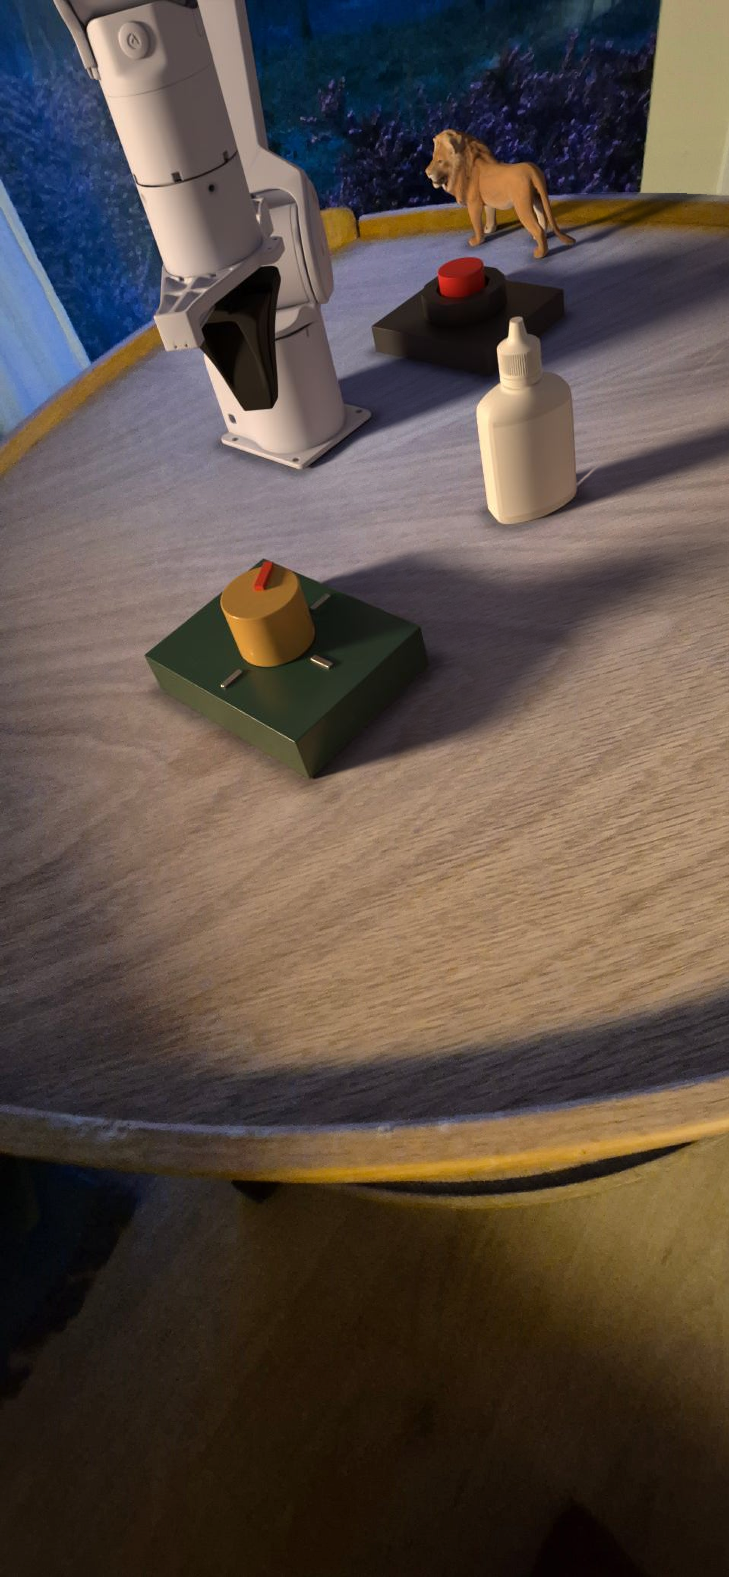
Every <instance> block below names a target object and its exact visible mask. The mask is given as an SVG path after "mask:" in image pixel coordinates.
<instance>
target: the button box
mask: <svg viewBox="0 0 729 1577" xmlns="http://www.w3.org/2000/svg"><path fill="white" fill-rule="evenodd" d="M484 273H485V283H486V286H485V288H483V289H482V290H481V291H479V292H477V293H474V294H471V295H468V296H466V297H458V298H448V297H442V296H441V293H440V286H439V279H438V275H437V276H435V277H434V278H432V279H431V280H430V281H428V282H427V283H425V284H424V286H423V288H422V289H420V290H419V291H418V292H416V293H415V294H414V295H412V296H411V297H409V298H408V299H407V300H405V301H404V302H403V303H401V304H400V305H398V306H397V307H396V308H394V309H393V310H391V311H390V312H389V313H388V314H386V315H384V316H383V317H382V318H380V319H379V320H378V321H377V322H375V323H374V324H372V325H371V333H372V337H373V343H374V347H375V351H376V353H379V354H380V353H381V354H384V355H389V356H394V357H398V358H402V359H406V360H410V361H411V360H412V361H416V362H421V363H425V364H428V365H429V364H430V365H434V366H437V367H441V368H442V367H443V368H446V369H451V370H456V371H460V372H464V373H469V374H473V375H478V376H482V377H486V378H487V377H488V378H490V377H492V376H493V375H494V374H496V373H497V372H498V371H499V364H498V354H497V347H498V345H499V344H500V343H501V342H502V341H503V340H504V339H506V338H508V335H509V325H510V320H511V319H512V318H514V317H522V318H523V322H524V326H525V329H526V332H527V334H531V335H534V336H536V337H537V338H538V339H539V338H540V337H541V336H543V335H544V334H545V333H546V332H547V331H548V330H550V329H551V328H552V327H553V326H554V325H556V324H557V323H558V322H559V321H561V320H562V319H563V318H564V317H565V316H566V312H565V311H566V310H565V291H564V288H562V287H561V288H560V287H554V286H547V285H541V284H534V283H529V282H528V283H527V282H522V281H514V280H509V279H506V275H505V274H504V273H503V272H502V271H500V270H499V269H498V268H497V267H494V266H486V265H484Z"/></svg>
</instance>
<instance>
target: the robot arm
mask: <svg viewBox="0 0 729 1577" xmlns="http://www.w3.org/2000/svg"><path fill="white" fill-rule="evenodd" d="M53 3H54V5H55V7H56V9H57V11H58V13H59V15H60V16H61V19H62V20H63V22H64V23H65V25H66V26H67V28H68V30H69V32H70V34H71V36H72V39H73V41H74V42H75V45H76V48H77V50H78V53H79V56H80V59H81V61H82V64H83V67H84V69H85V70H87V73H88V76H89V78H90V79H91V80H94V79H95V80H96V81H98V82H99V84H100V88H101V90H102V93H103V95H104V98H105V102H106V104H107V106H108V109H109V112H110V115H111V119H112V121H113V124H114V127H115V129H116V132H117V135H118V137H119V141H120V144H121V146H122V149H123V152H124V155H125V157H126V158H125V159H126V161H127V163H128V166H129V169H130V172H131V174H132V178H133V181H134V183H135V186H136V189H137V191H138V194H139V198H140V200H141V203H142V205H143V208H144V212H145V215H146V217H147V220H148V222H149V225H150V228H151V232H152V234H153V236H154V239H155V242H156V246H157V248H158V251H159V254H160V257H161V260H162V267H161V283H160V284H161V286H160V302H159V307H158V309H157V310H156V312H155V314H154V315H153V320H154V322H155V325H156V328H157V330H158V333H159V336H160V338H161V340H162V343H163V346H164V349H165V351H166V352H176V351H177V352H178V351H186V350H194V349H200V351H201V352H202V353H203V358H204V364H205V367H206V371H207V373H208V376H209V379H210V382H211V384H212V388H213V391H214V393H215V397H216V399H217V402H218V404H219V407H220V410H221V413H222V416H223V420H224V422H225V426H226V428H227V432H226V433H224V434H223V435H222V436H221V442H222V444H224V445H226V446H230V447H231V448H235V449H238V450H241V451H244V452H247V453H249V454H253V455H255V456H259V457H261V458H264V459H267V460H271V461H273V462H276V463H280V464H281V465H285V466H288V467H291V468H293V469H297V470H304V469H306V468H308V467H309V466H310V465H311V464H313V463H314V462H315V461H317V460H318V459H320V458H321V457H322V456H323V455H325V453H327V452H328V451H330V449H331V450H332V448H333V447H335V446H336V445H337V444H338V443H340V442H341V441H343V440H344V439H345V438H346V437H347V436H349V435H350V434H351V433H353V432H354V431H356V429H358V428H359V427H360V426H361V425H363V424H364V423H365V422H367V421H369V419H371V417H372V414H371V410H369V409H367V408H363V407H361V406H360V407H359V406H356V405H352V404H348V403H344V401H343V396H342V392H341V389H340V384H339V380H338V375H337V372H336V367H335V363H334V360H333V355H332V350H331V346H330V343H329V339H328V335H327V329H326V327H325V326H326V325H325V321H324V318H323V313H322V309H321V307H322V305H326V304H328V303H329V302H330V298H331V296H332V295H333V293H334V291H335V282H334V270H333V264H332V263H333V262H332V258H331V252H330V247H329V242H328V237H327V233H326V229H325V224H324V221H323V216H322V214H321V209H320V202H319V198H318V195H317V192H316V188H315V185H314V184H313V182H312V180H311V179H310V178H309V177H308V175H307V173H306V172H305V170H304V169H303V168H302V167H300V166H298V165H297V164H295V163H293V162H292V161H290V160H288V159H286V158H284V157H282V156H280V155H279V154H277V153H275V152H274V151H272V150H270V148H269V143H268V137H267V131H266V124H265V119H264V118H265V117H264V113H263V107H262V100H261V94H260V93H261V92H260V87H259V81H258V76H257V69H256V63H255V62H256V61H255V57H254V56H255V55H254V51H253V50H254V49H253V43H252V38H251V33H250V25H249V19H248V13H247V8H246V2H245V0H53Z"/></svg>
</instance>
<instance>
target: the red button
mask: <svg viewBox="0 0 729 1577" xmlns="http://www.w3.org/2000/svg"><path fill="white" fill-rule="evenodd" d="M484 266H485V265H484V262H483V259H481V258H479V257H475V256H464V257H459V258H454V259H452V260H449V261H447V262H445V263H444V264H442V265H441V266H440V267H439V268H438V270H437V276H438V279H439V286H440V293H441V296H442V297H448V298H458V297H466V296H468V295H471V294H474V293H477V292H479V291H481V290H482V289H483V288H485V286H486V283H485V273H484Z"/></svg>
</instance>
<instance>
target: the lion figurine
mask: <svg viewBox="0 0 729 1577" xmlns="http://www.w3.org/2000/svg"><path fill="white" fill-rule="evenodd" d="M432 140H433V143H434V149H433V153H432V160H431V162H430V163H429V165H427V167H426V169H425V173H426V175H427V177H428V179H431V180H432V182H431V183H432V185H433V187H434V188H435V189H439V188H441V187H442V188H443V190H444V191H445V192H446V193H448V194H450V195H452V196H453V197H455V199H456V203H457V204H458V205H460V206H465V207H467V212H468V215H469V219H470V223H471V224H472V227H473V230H474V233H475V235H474V236H471V237H470V238H469V241H468V244H469V245H470V246H471V247H476V246H479V245H481V244H483V243H484V242H485V238H486V234H490V233H494V232H495V231H496V230H497V228H498V227H497V226H498V224H497V210H501V211H508V210H510V209H514V210H515V213H516V216H517V217H518V220H519V221H520V222H521V225H522V226H524V228H525V230H527V231H528V232H529V234H531V236H532V237H533V239H534V240H535V241H536V242H537V246H536V247H534V250H533V257H534V258H535V259H542V258H544V257H545V256H546V255H547V254H548V252H549V244H548V239H547V236H548V226H549V225H550V227H551V229H552V232H553V233H554V235H555V236H556V237H557V238H558V239H559V240H560V242H561V243H563V244H564V245H566V246H573V245H575V244H576V243H577V240H576V239H575V238H574V237H572V236H570V235H569V234H567V233H564V232H563V231H562V230H561V229H560V228H559V226H558V224H557V222H556V219H555V216H554V213H553V209H552V205H551V202H550V197H549V194H548V189H547V182H546V176H545V174H544V172H543V171H542V169H541V168H540V167H539V166H538V165H536V164H535V163H533V162H531V161H525V162H524V161H523V162H520V163H519V162H518V163H506V162H503V161H499V160H498V159H497V158H496V157H495V155H494V154H493V153H492V151H491V149H490V148H489V147H488V145H486V144H485V143H484V142H483V141H482V140H478V139H477V137H476V136H475V135H472V134H470V133H468V132H464V131H462V129H457V130H456V129H455V128H448V129H444V130H443V131H441V132H440V133H439V134H437V135H435V137H434V138H433V139H432ZM483 212H485V224H484V223H483V218H482V217H483ZM548 222H549V224H548Z"/></svg>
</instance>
